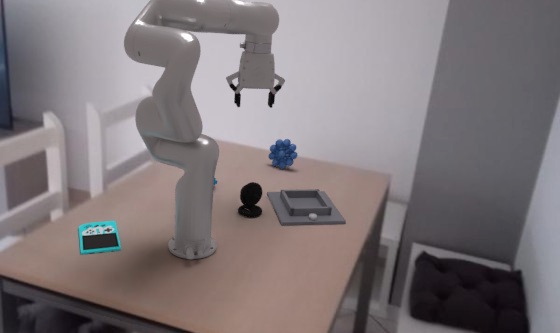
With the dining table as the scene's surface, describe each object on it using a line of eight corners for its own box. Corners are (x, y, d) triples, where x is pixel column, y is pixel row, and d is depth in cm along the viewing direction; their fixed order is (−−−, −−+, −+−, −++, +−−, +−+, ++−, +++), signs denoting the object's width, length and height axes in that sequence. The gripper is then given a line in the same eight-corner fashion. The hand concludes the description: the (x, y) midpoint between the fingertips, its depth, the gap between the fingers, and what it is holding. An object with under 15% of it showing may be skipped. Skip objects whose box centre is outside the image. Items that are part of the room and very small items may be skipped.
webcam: (252, 205, 171) (254, 176, 167) (267, 214, 165) (270, 184, 162) (232, 210, 166) (234, 180, 162) (247, 220, 161) (249, 189, 157)
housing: (345, 223, 164) (346, 213, 163) (281, 225, 159) (282, 214, 158) (324, 193, 184) (325, 184, 183) (266, 194, 179) (267, 184, 178)
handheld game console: (116, 223, 153) (116, 219, 152) (122, 252, 139) (122, 247, 138) (78, 227, 149) (78, 223, 148) (80, 256, 135) (80, 252, 135)
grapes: (300, 168, 204) (303, 138, 200) (292, 174, 198) (296, 143, 194) (272, 161, 209) (275, 132, 204) (264, 166, 203) (267, 136, 199)
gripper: (229, 49, 147) (226, 109, 153) (290, 51, 151) (285, 110, 158) (225, 44, 154) (223, 102, 160) (284, 46, 158) (279, 103, 164)
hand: (254, 106), depth 159 cm, fingers open, 9 cm apart
